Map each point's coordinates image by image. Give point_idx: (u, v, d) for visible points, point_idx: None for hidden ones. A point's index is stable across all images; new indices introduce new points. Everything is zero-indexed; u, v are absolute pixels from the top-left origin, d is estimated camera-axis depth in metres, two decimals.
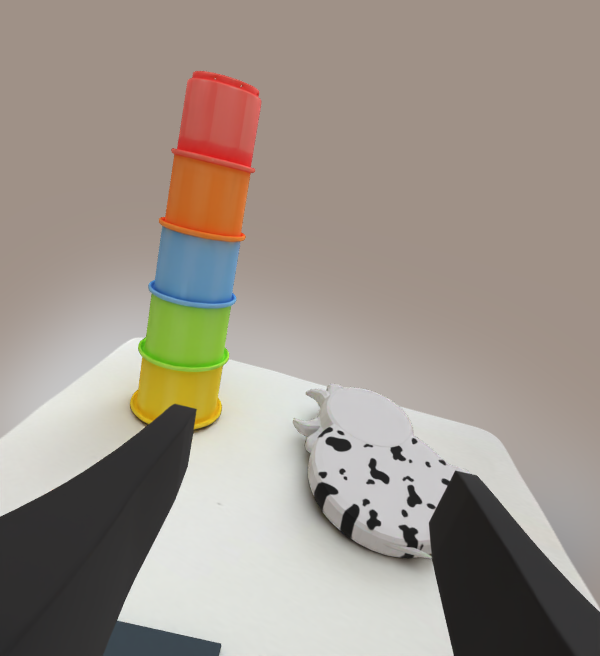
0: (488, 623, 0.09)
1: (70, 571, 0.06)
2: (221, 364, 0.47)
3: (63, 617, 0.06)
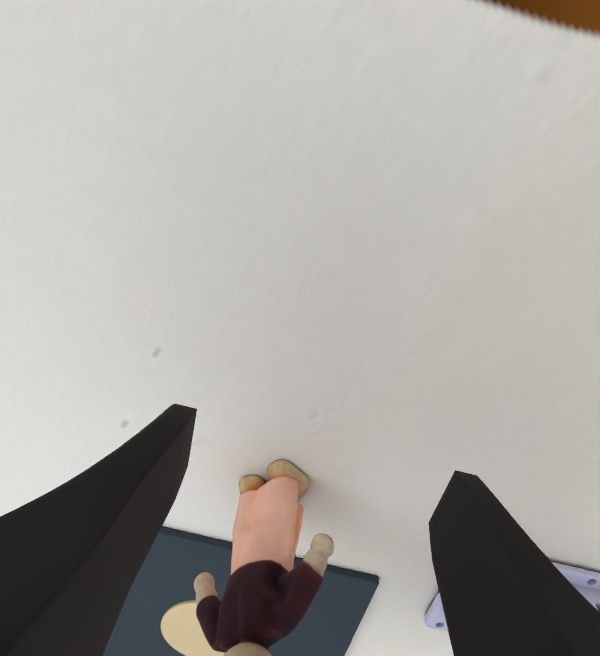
0: (488, 623, 0.09)
1: (70, 571, 0.06)
2: None
3: (63, 617, 0.06)
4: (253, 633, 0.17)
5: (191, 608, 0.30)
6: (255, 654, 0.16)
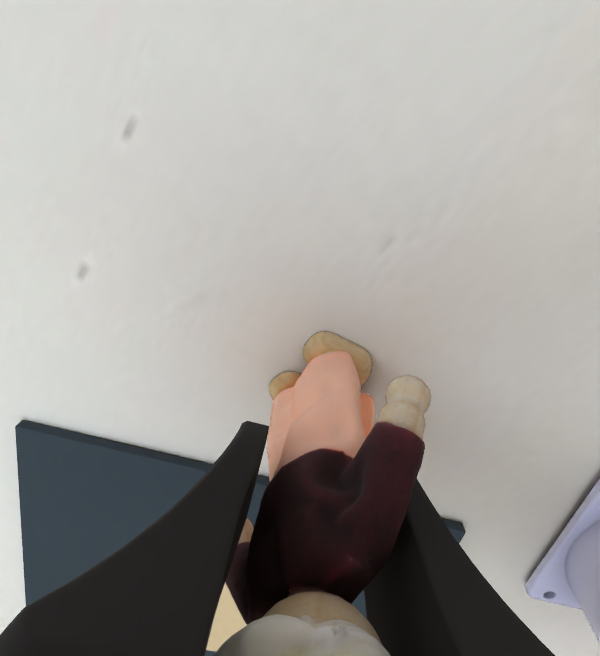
0: (393, 601, 0.09)
1: (212, 603, 0.06)
2: None
3: None
4: (308, 571, 0.08)
5: None
6: (315, 608, 0.07)
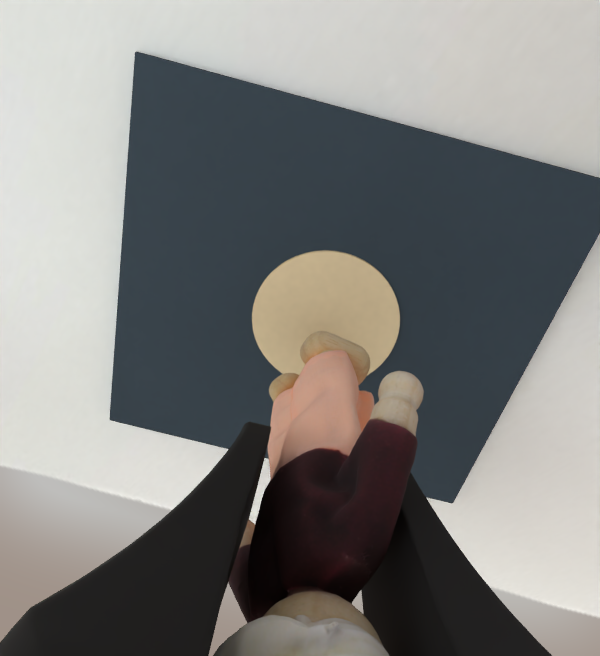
0: (390, 601, 0.09)
1: (216, 604, 0.06)
2: None
3: None
4: (305, 571, 0.08)
5: (306, 266, 0.20)
6: (311, 608, 0.07)
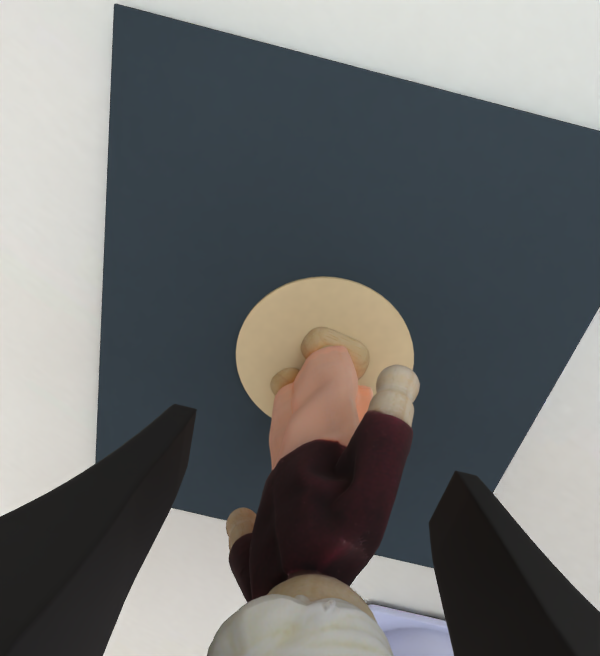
0: (488, 623, 0.09)
1: (70, 571, 0.06)
2: None
3: (63, 617, 0.06)
4: (305, 555, 0.09)
5: (396, 344, 0.17)
6: (310, 589, 0.08)
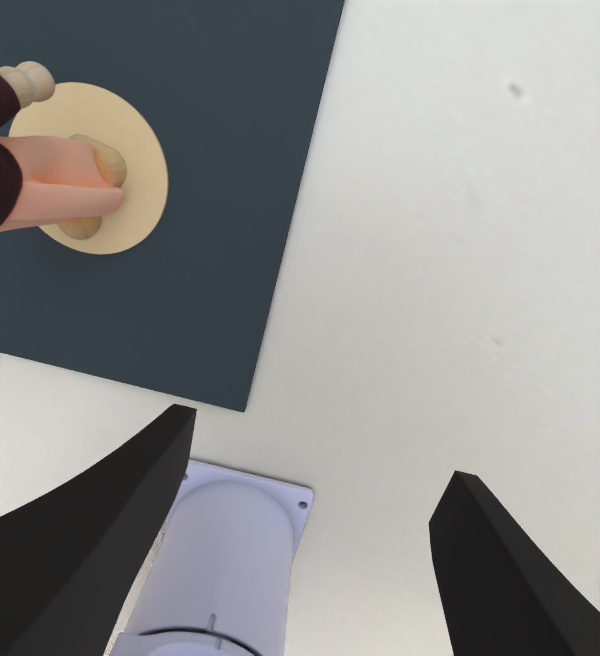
0: (488, 623, 0.09)
1: (70, 571, 0.06)
2: None
3: (63, 617, 0.06)
4: None
5: (147, 152, 0.18)
6: None
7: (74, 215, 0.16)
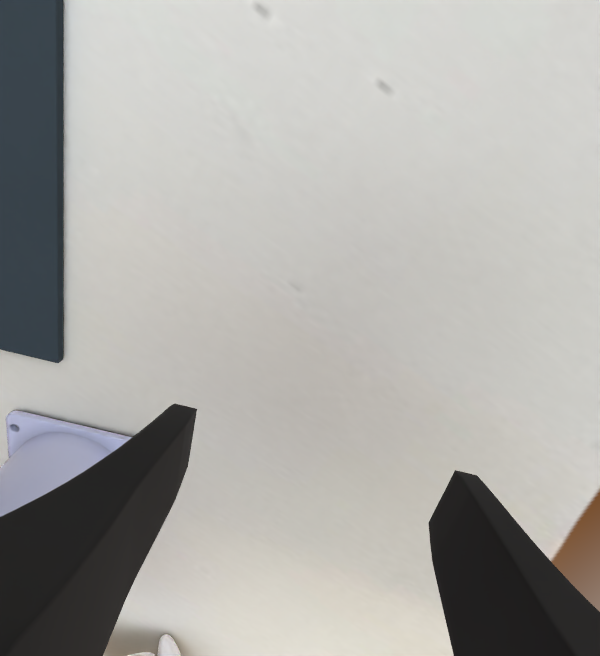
0: (488, 623, 0.09)
1: (70, 571, 0.06)
2: None
3: (63, 617, 0.06)
4: None
5: None
6: None
7: None
